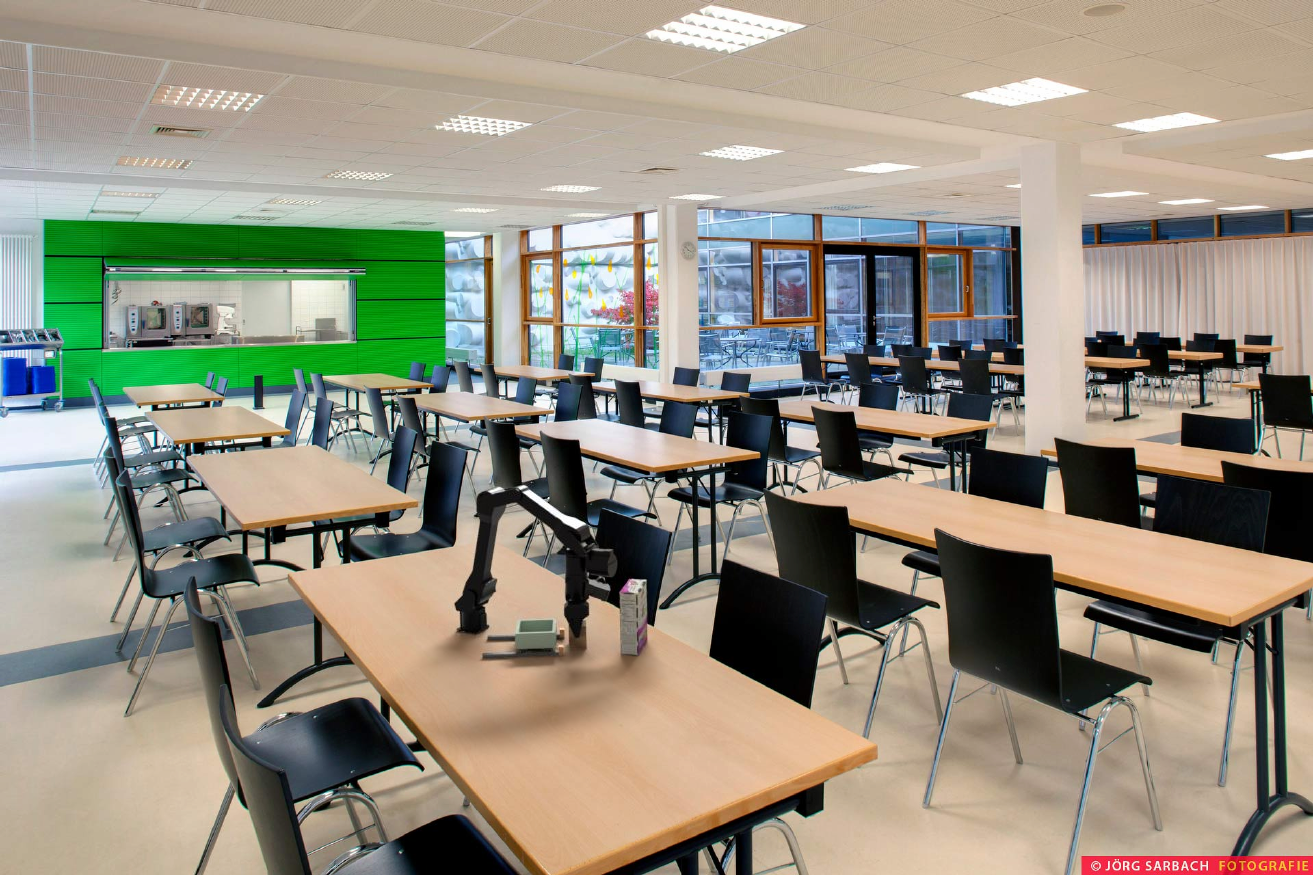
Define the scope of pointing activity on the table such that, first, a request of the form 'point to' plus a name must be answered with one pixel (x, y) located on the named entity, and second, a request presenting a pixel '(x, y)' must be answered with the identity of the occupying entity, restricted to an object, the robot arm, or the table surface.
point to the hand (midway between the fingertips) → (577, 631)
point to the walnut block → (578, 642)
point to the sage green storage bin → (536, 634)
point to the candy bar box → (633, 616)
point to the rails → (523, 654)
